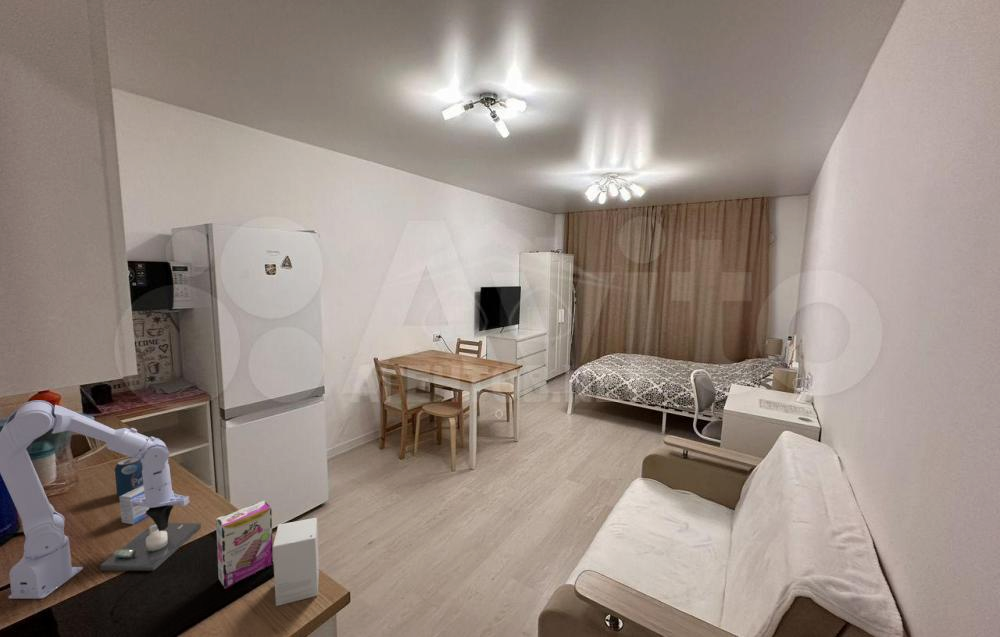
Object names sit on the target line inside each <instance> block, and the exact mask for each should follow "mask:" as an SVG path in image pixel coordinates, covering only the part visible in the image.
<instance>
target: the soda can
mask: <svg viewBox="0 0 1000 637" xmlns="http://www.w3.org/2000/svg"><path fill="white" fill-rule="evenodd" d="M142 470H143V467H142V463H141V459H138V458H131V457H129V456H127V457H124V458H122V459H120V460H118V461H117V462H116V466H115V467H114V474H115V476H114V477H115V486H116V495H117V497H118V498H119V497H120V496H122V495H124V494H126V493H128V492H130V491H132V490H134V489H136V488H138V487H140V486H142V485H144V484H143V476H142Z"/></svg>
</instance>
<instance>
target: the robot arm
mask: <svg viewBox="0 0 1000 637" xmlns="http://www.w3.org/2000/svg"><path fill="white" fill-rule="evenodd" d="M50 430H51V434H59V433H63V432H67V431H71V432H74V433H76V434H80V435H82V436H84V437H85V436H86V437H89V438H92V439H96V440H98V441H102V442H105V444H106V449H108V450H110V451H113V452H114V453H115V452H116V453H118V454H121V455H124V456H126V457H131V458H138V459H141V463H142V467H143V470H142V476H143V484H144V492H145V496H142V497H135V498H133V499H132V500H130V507H135V506H145V507H148V508H149V509H148V510H147V511H146V514H147V515H148V517H149V518H150V519H151V520H152V521H153V522H154V523H156V525H157V527H158V529H159V531H163V530H164V529H166V528H167V527H168V523H169V518H170V515H171V512H172V510H173V509H174V506H180V507H186V506H187V505H188V504H189V503H190V497H189V496H188V495H181V494H177V493H174V490H173V488H172V486H173V485H172V478H171V472H170V471H171V470H170V468H171V467H170V464H169V458H170V455H171V452H170V451H169V448H168V447H167V445H166V443H165V442H164V441H163V440H162V439H160V438H158V437H155V436H150V437H149V436H146V435H145V434H142V433H140V432H138V430H137V429H136V428H134V427H130V429H129V428H127V427H122V428H119V429H114V428H111V427H110V426H108V425H105V424H104V423H101V422H99V421H96V420H94V419H92V418H89V417H88V416H85V415H82V414H80V413H78V412H76V411H74V410H71V409H68V408H66V407H64V406H61V405H58V404H55V405H53V404H52V403H50V402H49V401H46V400H38V399H37V400H31V401H27V402H24V403H23V404H21V405H19V407H17V408H16V409H15V410H14V411H13V412H12V413H11V414H10V415H9V416H8V418H7V419H6V422H5V423H4V425H3V427H2V429H1V430H0V476H1V477H2V480H3V482H4V484H5V487H6V488H7V491H8V493H9V495H10V497H11V499H12V501H13V504H14V506H15V508H16V510H17V513H18V515H19V517H20V520H21V525H22V530H23V534H24V536H25V541H24V545H23V555H22V558H21V559H20V560H19V561H18V562H17V563H16V564H15V565H13V567H11V569H10V570H9V574H8V575H9V576H8V577H9V583H10V590H11V591H10V592H11V594H10V595H8V600H9V599H14V600H15V599H22V600H23V599H29V600H31V599H34V600H35V599H41V600H42V599H44V598H46V597H47V596H49V595H50V594H51V593H53V592H54V591H56V590H57V589H58V588H59V587H62V586H63V585H64V584H65V583H66V582H68V581H69V580H70V579H71V578H73V577H74V576H76V575H77V574H79V573H80V572H81V571H83V569H84V567H83V566H72V556H71V549H70V547H71V546H70V540H69V536H67V535H65V530H64V528H65V523H66V519H65V518H66V517H65V516H64V515H63V514H61V513H60V512H57V511H56V510H55V508H54V506H53V505H52V504H51V502H50V501H49V499H48V496H47V494H46V492H45V489H44V487H43V485H42V482H41V480H40V478H39V475H38V473H37V471H36V469H35V467H34V464H33V462H32V459H31V457H30V455H29V452H28V450H27V448H29V446H30V445H32V443H33V442H34V441H35V440H36V439H38V438H40V437H41V436H43V435H45V434H46V433H48V432H49V431H50Z"/></svg>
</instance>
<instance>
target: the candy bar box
mask: <svg viewBox="0 0 1000 637" xmlns="http://www.w3.org/2000/svg"><path fill="white" fill-rule="evenodd" d="M272 514H273V513H272V506H270V505H269V504H268V503H267V501H266V500H262V501H258V502H257V503H254V504H251V505H250V506H245V507H244V508H240V509H238V510H235V511H233V512H230V513H227V514H224V515H222V516H219V517H217V518H216V519H215V527H216V529H215V530H216V546H217V548H216V552H217V568H218V569H217V575H218V581H219V582H220V583H221V585H222V586H224V587H223V588H224V589H225V590H226V589H228V588H230V587H232V586H234V585H236V584H238V583H240V582H242V581H243V579H244V580H246V579H247V577H248V578H249V576H250V577H251V575H252V576H253V574H254V575H256V574H257V573H259V572H258V571H260V572H262V571H263V570H265V568H266V567H268V566H269V567H271V566H274V561H273V548H272V547H273V522H272V521H273V518H272ZM270 565H271V566H270ZM269 567H268V568H269ZM262 569H263V570H262ZM266 569H267V568H266ZM261 570H262V571H261ZM256 572H257V573H256ZM245 578H246V579H245ZM241 580H242V581H241ZM239 581H240V582H239Z"/></svg>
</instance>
